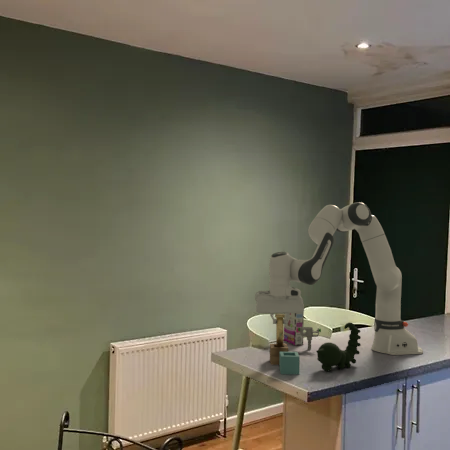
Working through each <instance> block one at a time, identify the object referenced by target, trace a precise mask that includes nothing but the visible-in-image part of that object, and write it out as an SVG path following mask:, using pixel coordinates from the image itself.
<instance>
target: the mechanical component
mask: <svg viewBox="0 0 450 450" xmlns="http://www.w3.org/2000/svg"><path fill="white" fill-rule="evenodd" d="M298 331H300V335H301V336H303V337H306V340H307V349H308V350H309V351H310V350H311V349H312V340H313V338H315V337H316V338H317V337H319V336H320V333H322V329H321V328H320V327H317V329H316V331H315V330H314V329H313V327H311V326H303V327H300V328H298Z"/></svg>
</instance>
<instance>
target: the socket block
mask: <svg viewBox="0 0 450 450" xmlns="http://www.w3.org/2000/svg"><path fill="white" fill-rule="evenodd" d="M300 357H301V356H300V354H299V353H298V351H288V352H279V365H278V366H279V368H278V369H279V372H280V374H281V375H300V362H301V361H300Z"/></svg>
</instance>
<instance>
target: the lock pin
mask: <svg viewBox="0 0 450 450" xmlns="http://www.w3.org/2000/svg"><path fill="white" fill-rule="evenodd" d="M274 317H275V319H276V324H275V325H276V326H275V327H276V330H275V331H276V332H275V333H276V334H275V336H276V338H275V339H276V340H275V342H276V343H275V344H276V346H284V344H285V341H284V324H283V319H284V317H285V314H284V313H274Z"/></svg>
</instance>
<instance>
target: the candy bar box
mask: <svg viewBox="0 0 450 450" xmlns="http://www.w3.org/2000/svg"><path fill="white" fill-rule="evenodd" d="M304 312H305V311H304ZM304 312H303V313H290V316H289V318H288V319H287V324H283V335H284V342H285V343H288V344H290V345H292V346H303V345H304V336H301V335H300V331H298V328H300V327H304V320H305V319H304V317H305V314H304ZM283 314H285V317H284V318H283V319H285V318H286V317H287V316H286V313H283Z"/></svg>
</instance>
